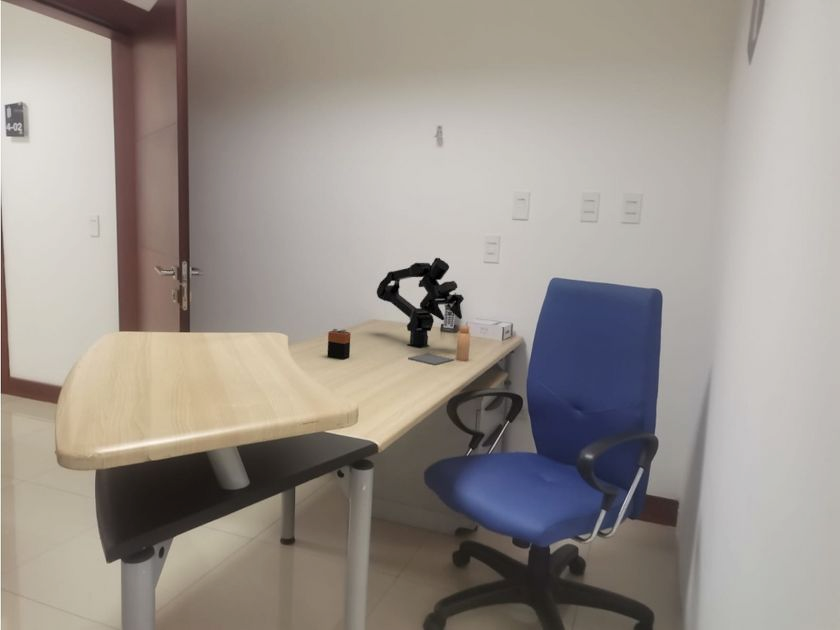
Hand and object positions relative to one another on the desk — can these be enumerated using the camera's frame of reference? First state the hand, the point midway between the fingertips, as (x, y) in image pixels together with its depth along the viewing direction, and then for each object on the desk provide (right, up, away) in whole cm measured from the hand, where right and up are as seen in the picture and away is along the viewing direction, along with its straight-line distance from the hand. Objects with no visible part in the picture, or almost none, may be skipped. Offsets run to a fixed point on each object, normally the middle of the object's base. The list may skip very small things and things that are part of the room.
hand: (452, 318), depth 215 cm
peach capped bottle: (+3, -15, -4) cm, 16 cm away
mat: (-8, -15, -8) cm, 18 cm away
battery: (-41, -14, -13) cm, 45 cm away
